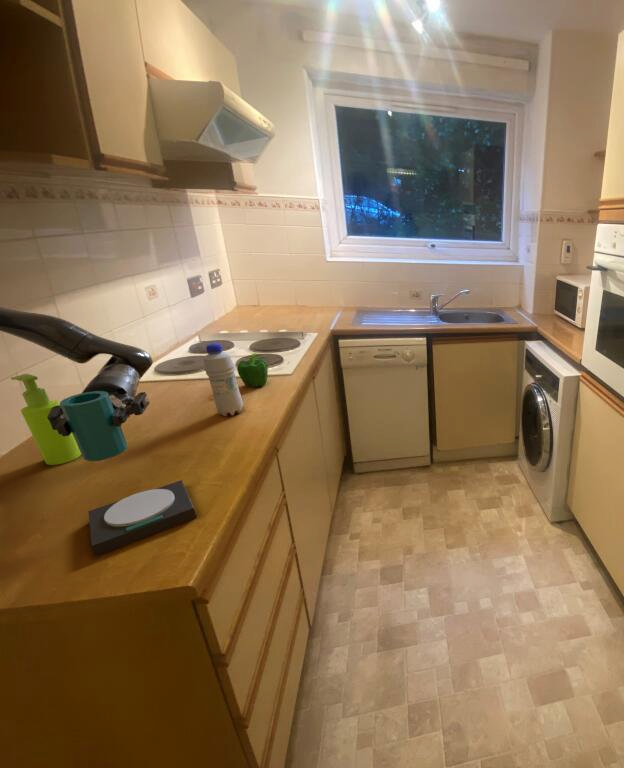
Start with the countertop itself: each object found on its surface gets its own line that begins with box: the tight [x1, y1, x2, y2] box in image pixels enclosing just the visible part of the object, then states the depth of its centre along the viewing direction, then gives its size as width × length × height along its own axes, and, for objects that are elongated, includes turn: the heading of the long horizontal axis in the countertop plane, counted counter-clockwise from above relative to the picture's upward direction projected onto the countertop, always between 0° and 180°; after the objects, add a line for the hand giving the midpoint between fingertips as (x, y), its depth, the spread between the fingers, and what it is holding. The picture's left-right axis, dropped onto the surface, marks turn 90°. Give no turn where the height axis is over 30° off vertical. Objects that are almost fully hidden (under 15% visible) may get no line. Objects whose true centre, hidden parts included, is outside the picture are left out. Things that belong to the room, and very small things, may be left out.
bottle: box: [202, 342, 244, 417], centre depth 117 cm, size 7×7×20 cm
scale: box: [88, 479, 198, 557], centre depth 79 cm, size 14×12×3 cm
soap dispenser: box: [10, 373, 82, 466], centre depth 95 cm, size 6×7×20 cm
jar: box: [59, 391, 129, 462], centre depth 78 cm, size 6×6×11 cm
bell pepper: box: [237, 352, 269, 388], centre depth 137 cm, size 8×8×10 cm
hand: (90, 426), depth 76 cm, fingers closed on jar, 6 cm apart
